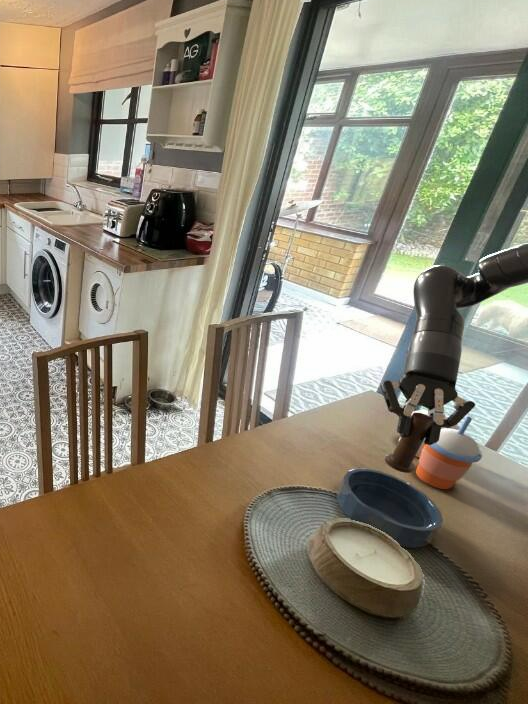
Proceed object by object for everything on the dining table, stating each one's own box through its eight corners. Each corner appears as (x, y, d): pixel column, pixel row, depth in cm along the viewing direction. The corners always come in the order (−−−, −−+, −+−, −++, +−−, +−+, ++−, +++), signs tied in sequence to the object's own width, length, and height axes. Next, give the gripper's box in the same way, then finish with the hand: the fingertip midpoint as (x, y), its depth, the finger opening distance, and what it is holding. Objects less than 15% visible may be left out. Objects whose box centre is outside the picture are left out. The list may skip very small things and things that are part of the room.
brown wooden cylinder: (411, 462, 83) (436, 415, 78) (414, 476, 80) (441, 427, 75) (383, 454, 86) (406, 407, 81) (385, 466, 82) (409, 419, 77)
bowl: (423, 508, 89) (434, 489, 86) (437, 564, 77) (450, 545, 75) (335, 476, 97) (343, 458, 94) (335, 523, 85) (345, 504, 83)
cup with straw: (409, 459, 102) (441, 399, 94) (460, 479, 96) (499, 418, 88) (405, 478, 96) (439, 417, 88) (459, 501, 90) (501, 438, 82)
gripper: (393, 342, 82) (375, 422, 79) (492, 363, 75) (478, 452, 71) (381, 354, 89) (364, 429, 85) (471, 375, 81) (457, 458, 77)
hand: (416, 439), depth 78 cm, fingers closed on brown wooden cylinder, 3 cm apart
